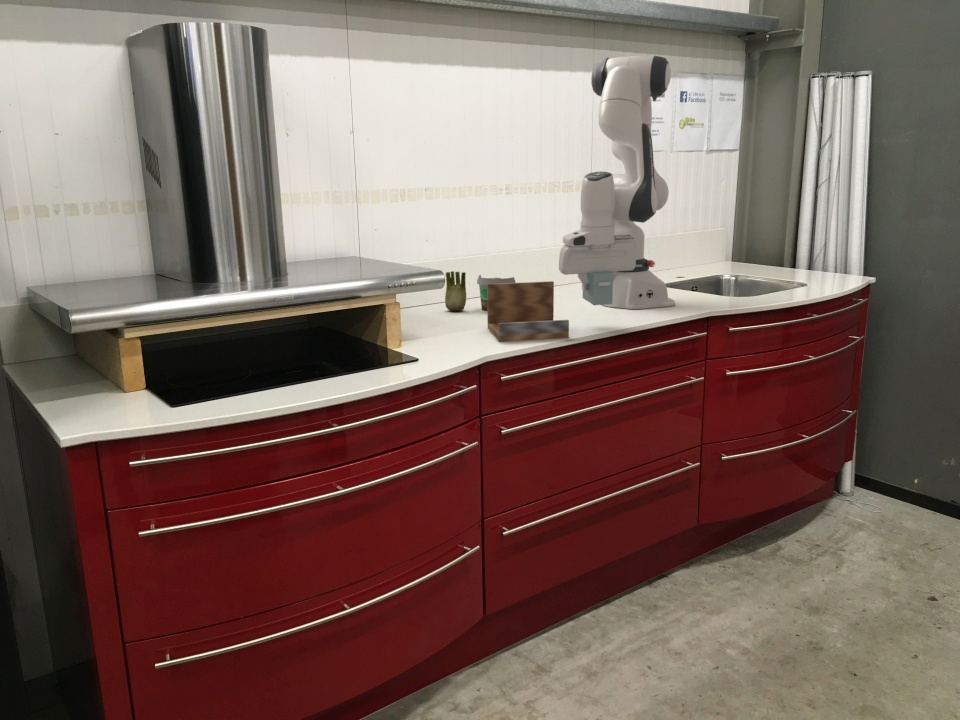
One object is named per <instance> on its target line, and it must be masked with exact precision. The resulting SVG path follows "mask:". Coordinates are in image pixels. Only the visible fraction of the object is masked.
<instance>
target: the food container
mask: <svg viewBox="0 0 960 720" xmlns="http://www.w3.org/2000/svg"><path fill="white" fill-rule="evenodd" d="M500 283H517V282H516V279H515V277H514V276H513V277H506V278H501V277H491V278H490V277H489V278H488V277H487V278H486V277H482V275H481V274H479V275H478V277H477V279H476V284H477V285H478V287H479V296H480V307H481V310H482V311H484V312H487V284H500Z"/></svg>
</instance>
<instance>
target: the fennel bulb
mask: <svg viewBox="0 0 960 720" xmlns="http://www.w3.org/2000/svg"><path fill="white" fill-rule="evenodd" d="M460 275H461V277H460ZM466 275H467V274H466V272H465V271H462V272H461V274H460V271H454V270H452V271H448V272H447V271H446V272H445V279H446V288H445V295H444V296H445V297H444V300H445V301H444V302H445V307H446V309H447V310H448V311H451V312H461V311H464V309H465V306H466V304H467V288H466Z"/></svg>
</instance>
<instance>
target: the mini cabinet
mask: <svg viewBox="0 0 960 720" xmlns="http://www.w3.org/2000/svg"><path fill="white" fill-rule="evenodd" d="M583 279H584V280H585V282H586V283H589V290H582V299H583V300H585V301H586V302H588V303H590V304H591V305H593V306H605V305H606V304H612V301H613V273H611V272H609V271H607V272H592V273H585V278H583Z"/></svg>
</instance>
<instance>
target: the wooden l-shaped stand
mask: <svg viewBox="0 0 960 720" xmlns="http://www.w3.org/2000/svg"><path fill="white" fill-rule="evenodd" d="M554 289H555V282H554V281H530V282H516V283H500V284H487V311H486V312H487V330H488V331H489V332H490V333H491V334H492V335H493V336H494V337H495V338H496V340H497V341H498V342H499V343H500V342H515V341H534V340H554V339H569V336H570V333H569V332H570V321H569V319H557V320H556V319H555V320H554V303H555V301H554V298H555V297H554V295H555V293H554V292H555V291H554Z"/></svg>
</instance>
